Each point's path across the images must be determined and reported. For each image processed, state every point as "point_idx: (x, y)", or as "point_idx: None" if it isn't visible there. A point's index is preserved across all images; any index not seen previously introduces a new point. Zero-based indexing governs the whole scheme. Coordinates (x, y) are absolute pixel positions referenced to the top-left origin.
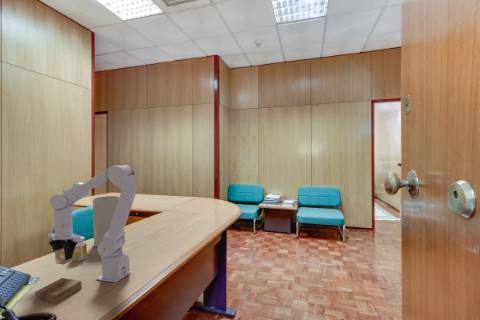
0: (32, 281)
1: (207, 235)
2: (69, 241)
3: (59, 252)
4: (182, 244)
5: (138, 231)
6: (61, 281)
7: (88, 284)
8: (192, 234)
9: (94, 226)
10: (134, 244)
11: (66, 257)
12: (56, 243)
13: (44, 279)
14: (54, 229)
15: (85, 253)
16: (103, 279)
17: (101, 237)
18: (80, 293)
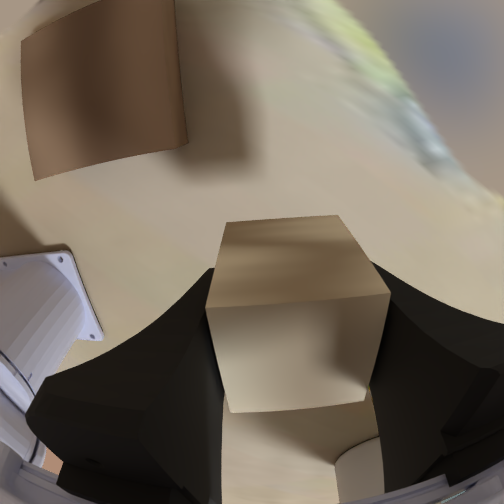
0: (425, 122)
1: None
2: (96, 477)
3: (293, 290)
4: None
5: (335, 495)
6: (124, 116)
7: (62, 206)
8: None
9: None
10: (262, 470)
11: (201, 278)
12: (436, 402)
13: (381, 156)
14: None
15: (372, 400)
16: (35, 257)
17: (381, 472)
18: (24, 140)
